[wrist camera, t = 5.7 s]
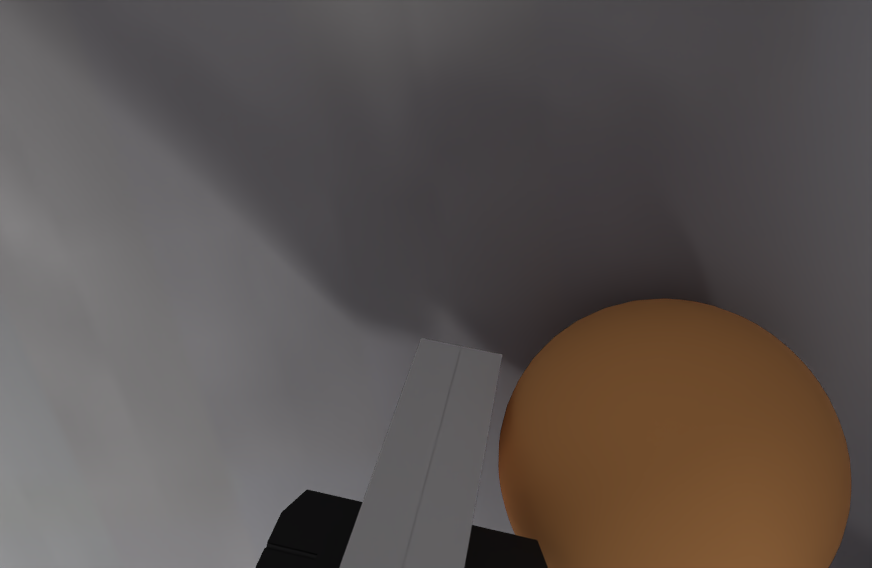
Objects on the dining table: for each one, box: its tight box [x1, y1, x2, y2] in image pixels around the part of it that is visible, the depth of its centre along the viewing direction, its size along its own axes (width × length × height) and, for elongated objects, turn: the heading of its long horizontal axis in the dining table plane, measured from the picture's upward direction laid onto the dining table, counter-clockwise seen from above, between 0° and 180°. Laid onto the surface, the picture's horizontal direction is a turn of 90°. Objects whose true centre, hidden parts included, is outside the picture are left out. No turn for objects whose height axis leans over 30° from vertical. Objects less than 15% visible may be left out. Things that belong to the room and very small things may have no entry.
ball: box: [499, 298, 851, 568], centre depth 12 cm, size 6×6×6 cm
